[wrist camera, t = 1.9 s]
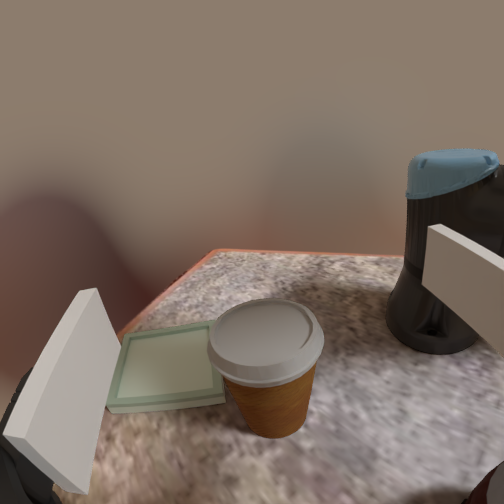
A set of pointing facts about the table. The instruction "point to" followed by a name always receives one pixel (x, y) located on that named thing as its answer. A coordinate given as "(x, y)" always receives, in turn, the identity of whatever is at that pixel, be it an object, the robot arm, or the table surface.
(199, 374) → the coaster plate
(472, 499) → the mate gourd
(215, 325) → the disposable coffee cup
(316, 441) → the table surface
